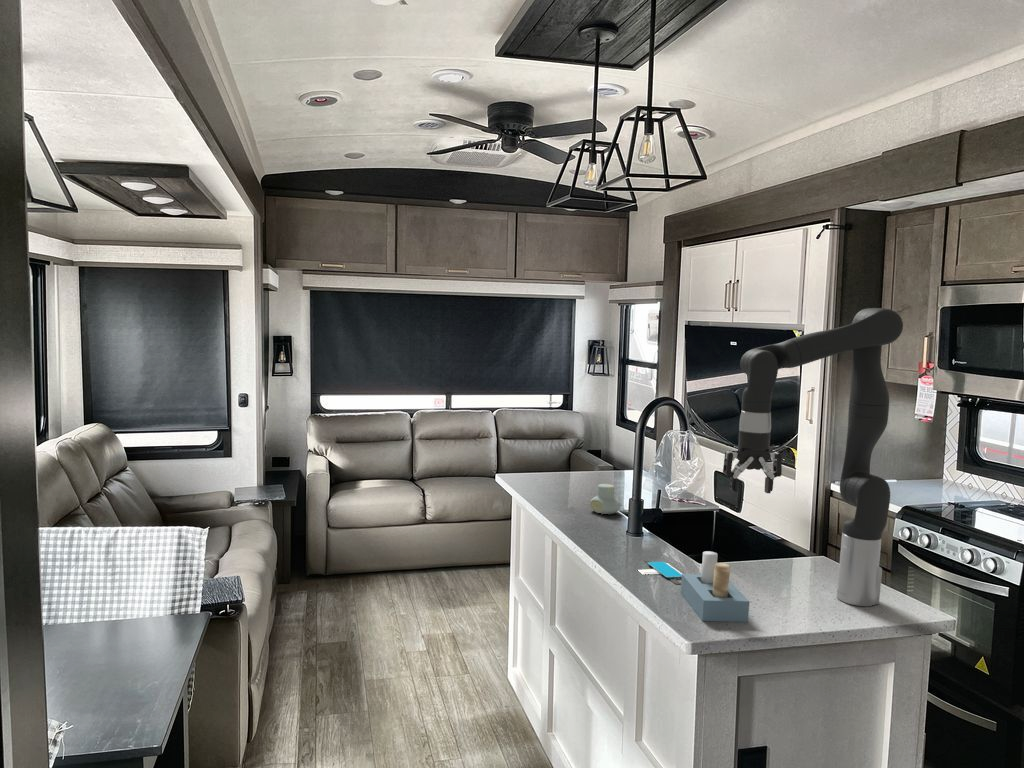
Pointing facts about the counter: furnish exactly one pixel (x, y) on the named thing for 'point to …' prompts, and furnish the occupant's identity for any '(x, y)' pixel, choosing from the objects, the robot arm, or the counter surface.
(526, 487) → the counter surface
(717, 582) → the beech pin
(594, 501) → the pale green pipe fitting
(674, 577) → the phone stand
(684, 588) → the bore block
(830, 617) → the counter surface
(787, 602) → the counter surface
